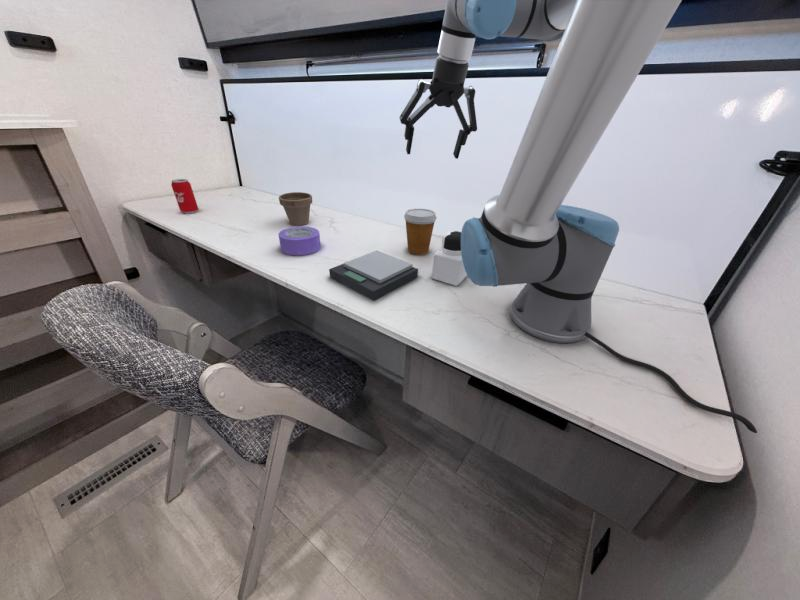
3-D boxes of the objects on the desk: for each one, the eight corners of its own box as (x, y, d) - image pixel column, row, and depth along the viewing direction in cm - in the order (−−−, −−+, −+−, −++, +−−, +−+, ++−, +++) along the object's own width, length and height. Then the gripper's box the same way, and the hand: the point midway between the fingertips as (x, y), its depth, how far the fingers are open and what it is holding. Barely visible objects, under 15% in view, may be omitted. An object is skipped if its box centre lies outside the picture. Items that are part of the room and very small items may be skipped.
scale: (417, 277, 79) (418, 265, 78) (373, 300, 69) (373, 287, 67) (374, 259, 88) (374, 248, 86) (329, 277, 78) (328, 265, 76)
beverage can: (183, 210, 124) (172, 178, 117) (200, 209, 125) (190, 178, 119) (179, 214, 119) (167, 182, 112) (197, 213, 120) (186, 181, 114)
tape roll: (327, 243, 97) (326, 228, 95) (308, 258, 88) (306, 241, 85) (294, 239, 100) (292, 224, 97) (273, 252, 90) (269, 236, 88)
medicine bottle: (467, 276, 81) (474, 232, 75) (456, 286, 76) (463, 241, 70) (443, 269, 84) (448, 226, 78) (431, 278, 79) (435, 234, 73)
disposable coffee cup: (431, 258, 90) (435, 218, 83) (400, 255, 91) (401, 215, 85) (434, 247, 98) (438, 209, 91) (405, 244, 99) (407, 206, 93)
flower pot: (307, 229, 108) (303, 200, 103) (277, 227, 110) (272, 198, 104) (319, 220, 118) (316, 193, 113) (292, 217, 119) (288, 191, 114)
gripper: (499, 62, 72) (470, 151, 88) (396, 46, 68) (386, 143, 84) (510, 71, 68) (478, 164, 84) (400, 54, 63) (388, 156, 79)
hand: (432, 154), depth 84 cm, fingers open, 13 cm apart
